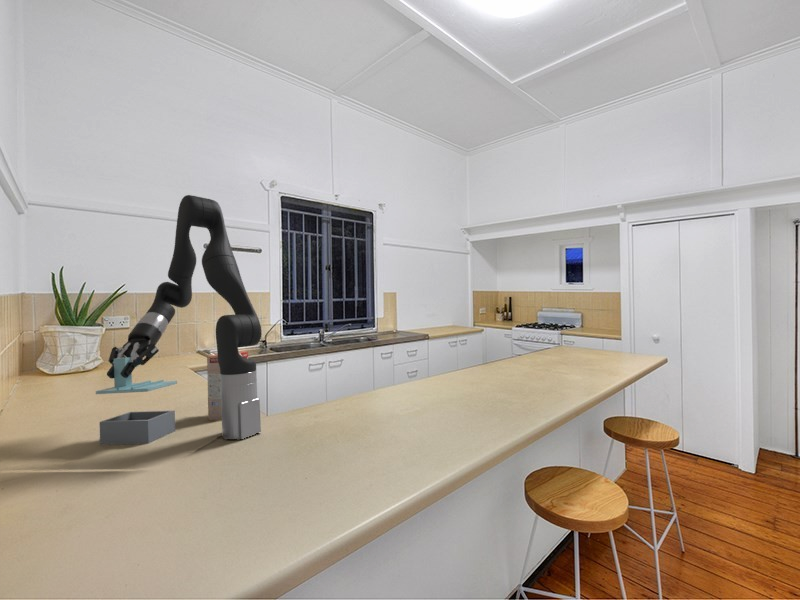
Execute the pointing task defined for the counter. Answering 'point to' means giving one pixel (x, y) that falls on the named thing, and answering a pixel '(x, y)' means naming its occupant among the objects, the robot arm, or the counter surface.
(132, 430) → the tub
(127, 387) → the lid
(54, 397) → the counter surface
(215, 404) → the cracker box
